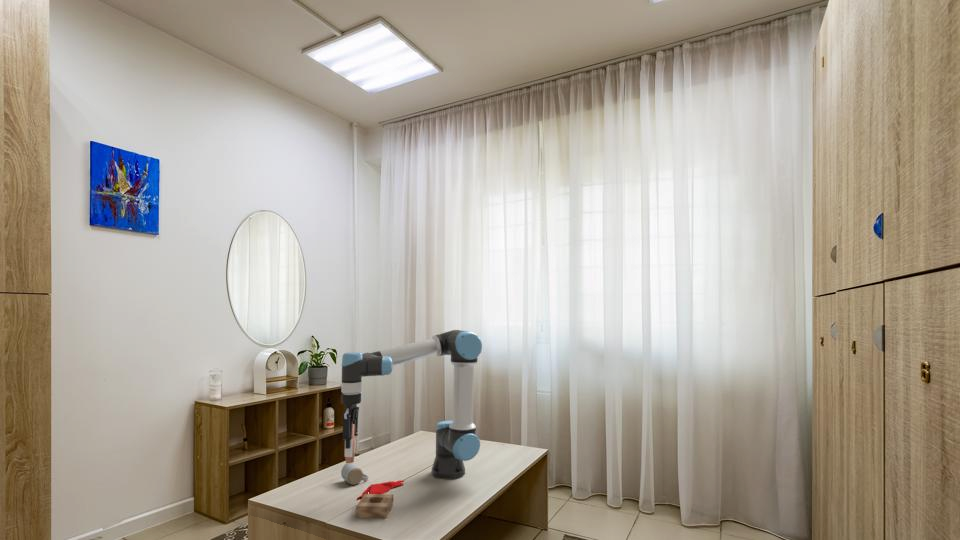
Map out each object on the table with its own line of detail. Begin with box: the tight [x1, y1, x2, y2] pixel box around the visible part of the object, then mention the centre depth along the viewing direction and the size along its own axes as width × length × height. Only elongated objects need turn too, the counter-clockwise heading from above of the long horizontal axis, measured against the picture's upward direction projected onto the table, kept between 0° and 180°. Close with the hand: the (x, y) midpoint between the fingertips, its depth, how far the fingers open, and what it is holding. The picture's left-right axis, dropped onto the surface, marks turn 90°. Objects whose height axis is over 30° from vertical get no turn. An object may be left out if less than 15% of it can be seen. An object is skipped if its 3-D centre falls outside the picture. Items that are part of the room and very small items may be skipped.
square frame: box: [355, 493, 395, 519], centre depth 176 cm, size 11×11×4 cm
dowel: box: [345, 424, 355, 464], centre depth 183 cm, size 3×3×14 cm
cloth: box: [356, 480, 405, 501], centre depth 197 cm, size 26×14×2 cm, turn 131°
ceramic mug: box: [340, 462, 369, 486], centre depth 205 cm, size 11×8×8 cm
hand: (349, 455), depth 183 cm, fingers closed on dowel, 3 cm apart
